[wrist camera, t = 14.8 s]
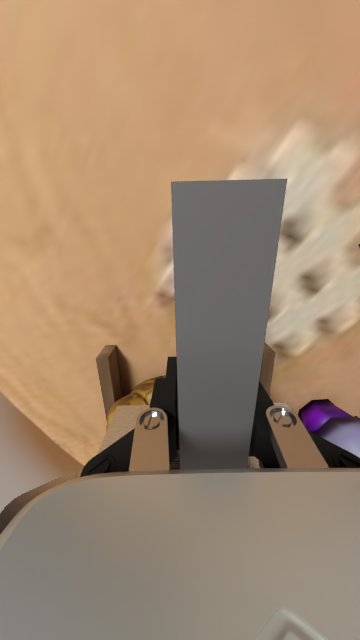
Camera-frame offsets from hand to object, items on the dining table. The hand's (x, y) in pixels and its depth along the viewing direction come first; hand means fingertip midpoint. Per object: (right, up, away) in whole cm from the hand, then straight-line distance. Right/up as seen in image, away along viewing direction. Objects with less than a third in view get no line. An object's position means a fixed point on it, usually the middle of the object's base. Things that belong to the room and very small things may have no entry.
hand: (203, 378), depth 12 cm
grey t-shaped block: (0, +3, 0) cm, 3 cm away
